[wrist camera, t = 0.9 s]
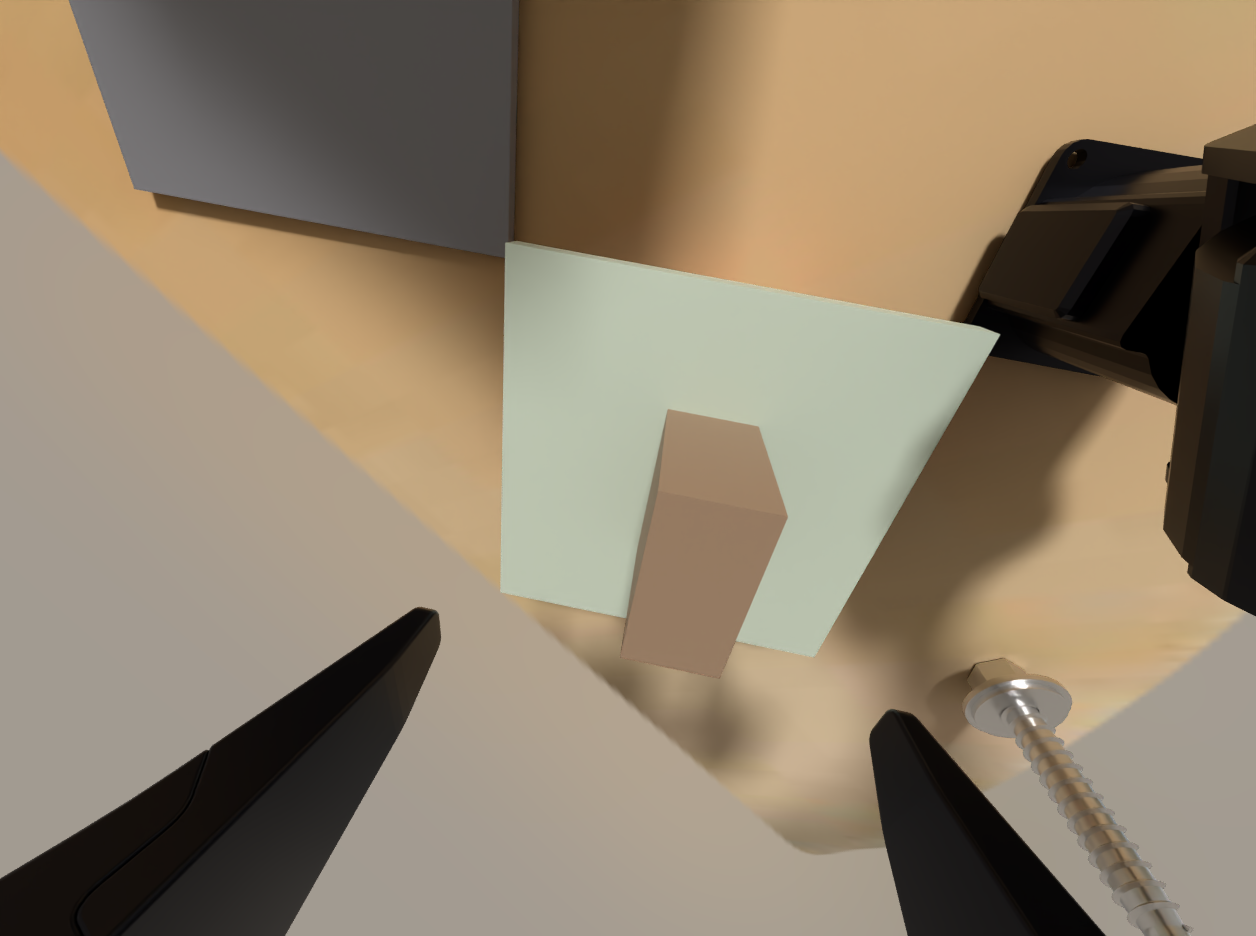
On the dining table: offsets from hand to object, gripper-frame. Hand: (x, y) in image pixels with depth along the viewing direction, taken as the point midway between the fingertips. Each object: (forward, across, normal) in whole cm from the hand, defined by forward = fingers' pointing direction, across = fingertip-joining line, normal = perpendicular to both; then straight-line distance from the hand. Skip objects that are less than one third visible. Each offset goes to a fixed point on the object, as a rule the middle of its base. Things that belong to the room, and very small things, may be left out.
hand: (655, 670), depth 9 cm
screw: (+13, -21, +12) cm, 27 cm away
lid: (+9, -1, +1) cm, 9 cm away
